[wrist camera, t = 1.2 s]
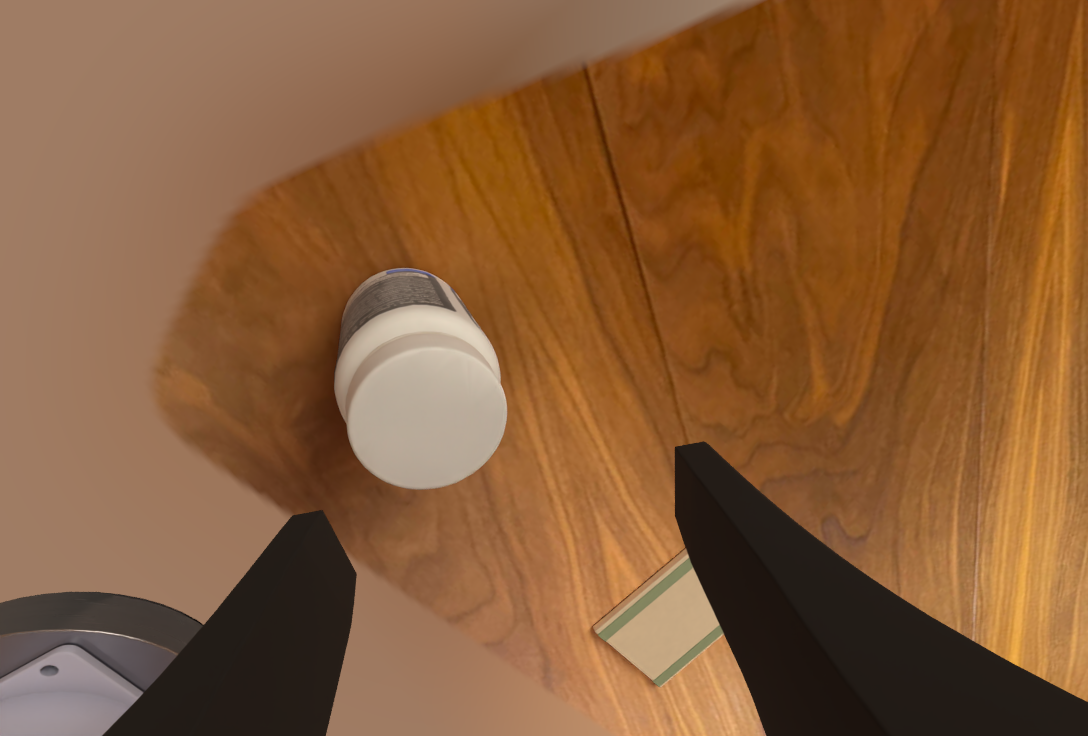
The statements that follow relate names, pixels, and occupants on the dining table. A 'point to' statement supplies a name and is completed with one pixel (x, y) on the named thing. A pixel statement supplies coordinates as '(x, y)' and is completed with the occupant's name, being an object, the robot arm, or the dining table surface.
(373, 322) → the pill bottle
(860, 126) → the dining table surface
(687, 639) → the striped square coaster
